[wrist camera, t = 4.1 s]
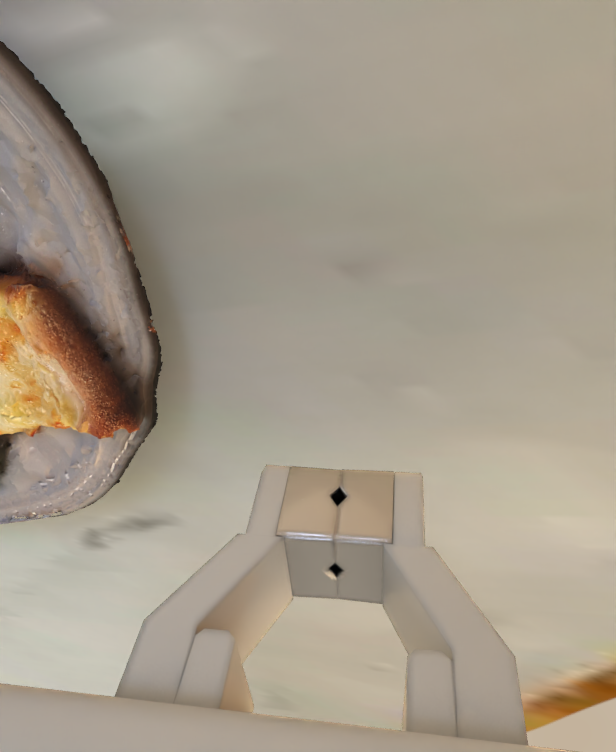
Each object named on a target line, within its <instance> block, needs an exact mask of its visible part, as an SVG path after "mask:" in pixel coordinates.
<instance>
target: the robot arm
mask: <svg viewBox="0 0 616 752" xmlns="http://www.w3.org/2000/svg"><path fill="white" fill-rule="evenodd" d="M293 596H298V597H315V598H332V599H344V600H352V601H361V602H370V603H379V604H383V608H384V609H385V611H386V613H387V615H388V617H389V619H390V621H391V623H392V625H393V626H394V628H395V630H396V632H397V634H398V636H399V638H400V640H401V642H402V643H403V645H404V647H405V649H406V651H407V653H408V656H407V668H406V680H405V693H404V706H403V719H402V731H400V730H392V729H383V728H375V727H366V726H358V725H350V724H341V723H333V722H324V721H316V720H307V719H299V718H290V717H282V716H273V715H265V714H257V713H253V708H254V704H253V700H252V697H251V693H250V690H249V686H248V683H247V679H246V676H245V672H244V669H243V666H242V663H243V662H244V661H245V660H246V658H247V657H248V656H249V655H250V653H251V652H252V651H253V649H254V648H255V647H256V646H257V644H258V643H259V642H260V641H261V639H262V638H263V637H264V635H265V634H266V633H267V632H268V630H269V629H270V628H271V626H272V625H273V624H274V623H275V621H276V620H277V619H278V618H279V616H280V615H281V614H282V612H283V611H284V610H285V609H286V607H287V606H288V605H289V603H290V602H291V601H292V600H293ZM0 752H578V751H569V750H561V749H552V748H543V747H535V746H528V741H527V734H526V727H525V721H524V714H523V707H522V700H521V694H520V687H519V680H518V673H517V667H516V660H515V656H514V655H513V653H512V652H511V651H510V649H509V648H508V647H507V645H506V644H505V643H504V641H503V640H502V639H501V637H500V636H499V635H498V633H497V632H496V631H495V629H494V628H493V626H492V625H491V624H490V622H489V621H488V620H487V618H486V617H485V616H484V614H483V613H482V612H481V610H480V609H479V608H478V606H477V605H476V604H475V602H474V601H473V600H472V598H471V597H470V596H469V594H468V593H467V592H466V590H465V589H464V588H463V586H462V585H461V584H460V582H459V581H458V580H457V578H456V577H455V576H454V574H453V573H452V572H451V570H450V569H449V568H448V566H447V565H446V564H445V562H444V561H443V560H442V558H441V557H440V556H439V554H438V553H437V552H436V550H435V549H434V548H433V547H425V529H424V497H423V476H422V474H421V473H410V472H395V473H394V471H369V470H344V469H342V470H334V469H321V468H308V467H295V466H292V467H291V466H277V465H266V466H265V467H264V469H263V471H262V474H261V477H260V481H259V485H258V489H257V493H256V496H255V500H254V504H253V508H252V511H251V515H250V519H249V523H248V526H247V530H246V534H237V535H236V536H235V537H234V538H233V539H232V540H230V541H229V542H228V543H227V544H226V545H225V546H224V547H223V548H222V549H221V550H220V551H218V552H217V553H216V554H215V555H214V556H213V557H212V558H211V559H210V560H209V561H208V562H206V563H205V564H204V565H203V566H202V567H201V568H200V569H199V570H198V571H197V572H196V573H195V574H193V575H192V576H191V577H190V578H189V579H188V580H187V581H186V582H185V583H184V584H183V585H181V586H180V587H179V588H178V589H177V590H176V591H175V592H174V593H173V594H172V595H171V596H169V597H168V598H167V599H166V600H165V601H164V602H163V603H162V604H161V605H160V606H159V607H157V608H156V609H155V610H154V611H153V612H152V613H151V614H150V615H149V616H148V617H147V618H145V619H144V621H143V624H142V626H141V629H140V631H139V634H138V637H137V639H136V642H135V645H134V647H133V650H132V652H131V655H130V658H129V660H128V663H127V665H126V668H125V671H124V673H123V676H122V679H121V681H120V684H119V686H118V689H117V692H116V694H115V697H112V696H104V695H95V694H87V693H78V692H70V691H61V690H53V689H44V688H36V687H27V686H19V685H10V684H2V683H0Z"/></svg>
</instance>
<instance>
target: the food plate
mask: <svg viewBox="0 0 616 752" xmlns="http://www.w3.org/2000/svg"><path fill="white" fill-rule="evenodd" d="M64 113H65V111H64V110H63V109H61V107H60V104H59V103H58V102H57V101H55V100H54V98H53V97H52V96H51V94H50V93H49V92H48V91H47V90H46V89H45V87H44V85H43V84H40V83H39V82H38V80H35V79H34V74H33V73H32V72H31V71H30V70H29V69H28V68H27V67H26V66H25V65H24V64H23V63H22V62H21V61H20V60H19V58H18V56H17V55H16V54H15V53H14V52H13V51H11V50H10V49H9V48H7V47H6V45H5V44H4V43H3V42H1V41H0V524H4V523H13V522H21V521H28V520H34V519H32V518H36V519H41V517H40V518H38V517H39V516H37V515H43V516H44V517H42V518H47V517H55V516H51V515H52V513H53V512H54V513H58V512H62V514H61V515H67V514H70V513H71V512H74V511H76V510H78V509H82V508H85V507H86V506H89V505H91V504H93V503H94V502H96V501H97V500H98V499H100V498H101V497H103V496H104V495H105V494H106V493H107V492H108V491H109V490H110V489H111V488H112V487H113V486H114V485H115V484H116V483H119V482H120V480H119V479H120V478H121V476H122V475H123V473H124V471H125V469H126V468H128V466H129V463H130V462H131V459H132V458H133V456H134V455H135V453H136V451H137V450H138V448H139V447H140V445H141V443H143V442H144V441H145V440H144V439H145V438H146V437H147V435H148V434H149V433H150V432H151V429H153V427H154V426H155V424H156V422H157V421H156V420H157V419H158V418H157V416H158V413H157V412H156V409H157V403H156V400H157V398H156V397H155V396H154V395H156V391H155V389H156V388H157V384H158V376H160V375H159V373H160V371H161V366H162V363H163V362H161V354H160V352H161V346H160V344H159V340H158V336H157V332H156V331H155V330H154V327H153V326H152V325H151V323H152V321H153V320H151V319H150V316H151V315H152V313H151V308H150V303H149V301H148V299H147V295H146V290H145V287H144V286H142V282H141V279H140V277H141V275H140V272H139V270H138V268H137V267H136V264H135V263H134V261H135V257H134V255H133V251H132V248H131V245H130V242H129V240H128V238H127V236H126V233H125V231H124V229H123V226H122V224H121V221H120V217H119V214H118V212H117V210H116V207H115V204H114V202H113V198H112V193H111V191H110V188H109V186H108V183H107V182H108V181H107V180H106V178H105V176H104V174H103V173H102V171H100V170H99V168H98V164H97V163H96V161H95V160H94V157H93V155H92V157H91V155H90V154H89V152H88V148H87V146H86V145H84V144H82V141H81V137H80V136H79V134H78V132H77V131H76V130H74V129H73V124H72V122H71V121H70V120H69V119H68V118H67V117H65V116H64ZM61 515H58V516H61ZM15 516H17V517H26V518H27V519H23V518H21V519H16V518H15ZM14 518H15V519H14Z"/></svg>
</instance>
